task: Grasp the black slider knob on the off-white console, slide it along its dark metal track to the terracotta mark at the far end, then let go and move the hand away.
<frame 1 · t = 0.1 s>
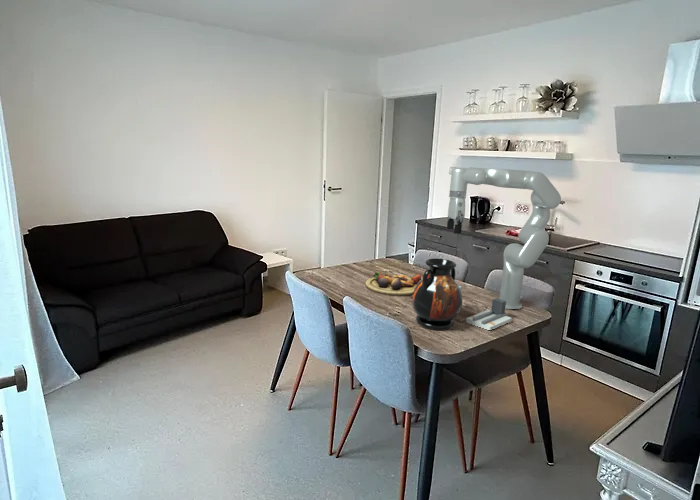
hand: (453, 231, 202), 37 cm above the table, tool pointing down, fingers open, 9 cm apart
wooden plate with food: (394, 287, 236), on the table
fader console: (488, 322, 192), on the table
skincare box: (452, 311, 204), on the table
fader knob: (498, 307, 196), point 6 cm above the table, slide at 0.0 cm
amphora vase: (434, 323, 188), on the table
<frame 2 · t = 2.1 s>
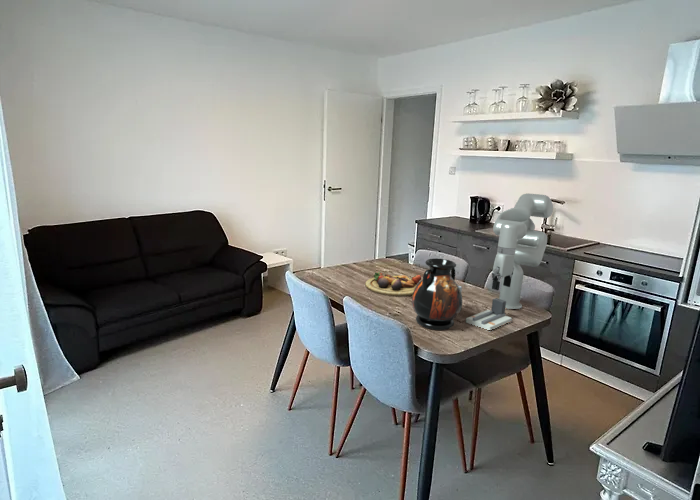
hand: (501, 287, 193), 15 cm above the table, tool pointing down, fingers open, 9 cm apart
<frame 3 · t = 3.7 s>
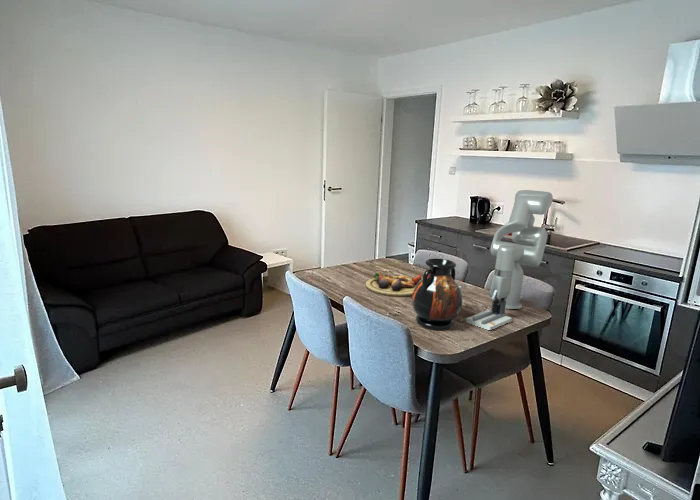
hand: (498, 311, 196), 4 cm above the table, tool pointing down, fingers closed on fader knob, 3 cm apart
fader knob: (498, 307, 196), point 6 cm above the table, slide at 0.0 cm, touching gripper
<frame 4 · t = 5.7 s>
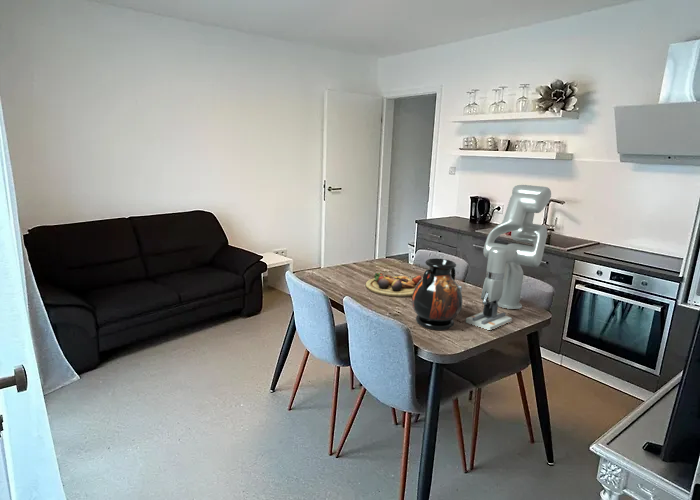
hand: (489, 314, 191), 4 cm above the table, tool pointing down, fingers closed on fader knob, 3 cm apart
fader knob: (490, 310, 191), point 6 cm above the table, slide at 7.0 cm, touching gripper
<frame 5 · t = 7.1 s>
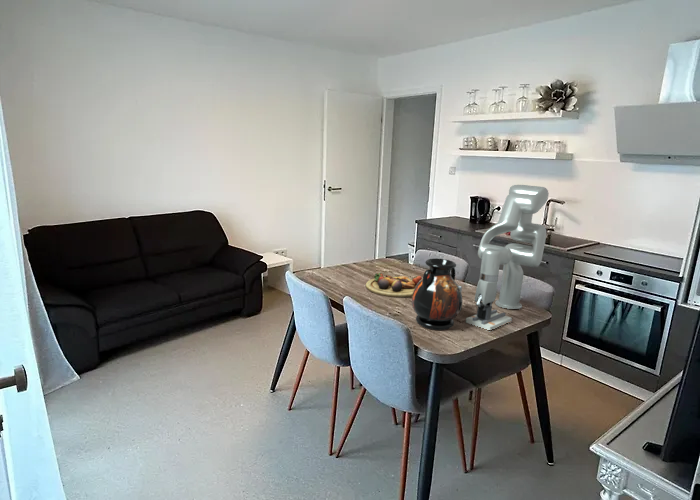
hand: (483, 316, 188), 4 cm above the table, tool pointing down, fingers closed on fader knob, 3 cm apart
fader knob: (484, 312, 188), point 6 cm above the table, slide at 12.0 cm, touching gripper
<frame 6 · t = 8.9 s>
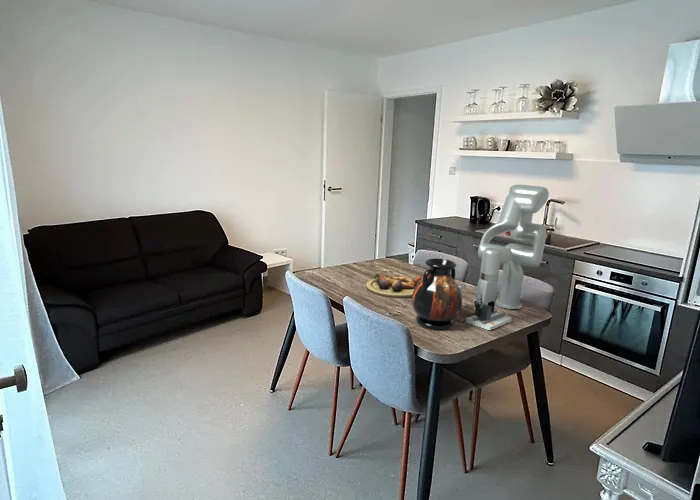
hand: (484, 313, 188), 5 cm above the table, tool pointing down, fingers open, 9 cm apart
fader knob: (484, 312, 188), point 6 cm above the table, slide at 12.0 cm
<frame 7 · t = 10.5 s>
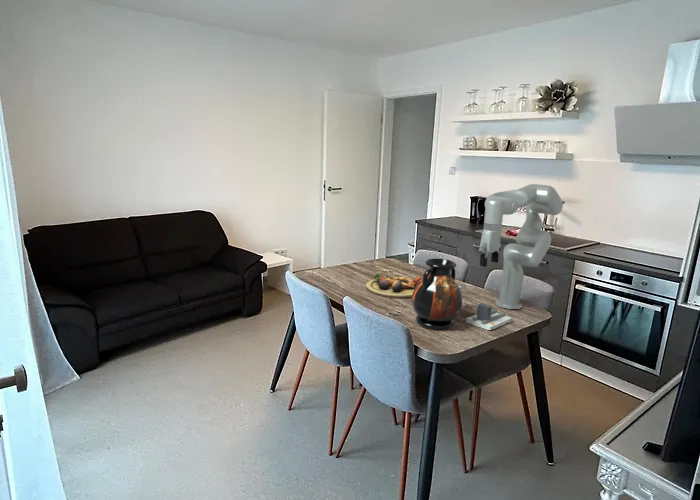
hand: (488, 264, 193), 25 cm above the table, tool pointing down, fingers open, 9 cm apart
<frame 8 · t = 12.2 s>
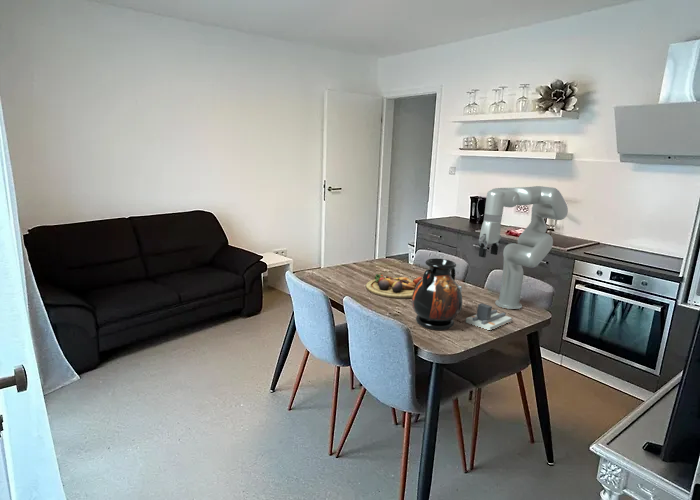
hand: (487, 255, 195), 28 cm above the table, tool pointing down, fingers open, 9 cm apart
at the end: fader knob slide at 12.0 cm; the gripper is holding nothing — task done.
